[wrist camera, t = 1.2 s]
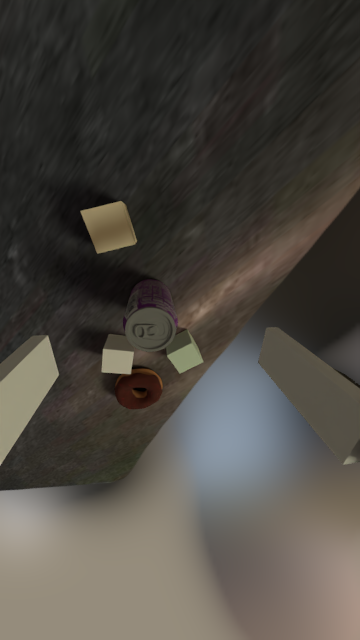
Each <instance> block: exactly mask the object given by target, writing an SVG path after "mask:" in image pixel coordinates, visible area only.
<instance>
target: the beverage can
mask: <svg viewBox="0 0 360 640" xmlns="http://www.w3.org/2000/svg"><path fill="white" fill-rule="evenodd" d="M177 326H178V320H177V315H176V311H175V308H174V304H173V301H172V297H171V293H170V291H169V289H168V288H167V286H166V285H165V284H163V283H162V282H160V281H158V280H153V279H147V280H143V281H141V282H139V283H138V284H136V285H135V286H134V288H133V289H132V291H131V294H130V298H129V301H128V304H127V308H126V311H125V314H124V318H123V327H124V331H125V334H126V337H127V339H128V341H129V342H130V344H131V345H132V346H134V347H135V348H137V349H139V350H142V351H146V352H154V351H159V350H162V349H164V348H165V347H167V346H168V345H169V344H170V343H171V342H172V341H173V339H174V337H175V333H176V330H177Z"/></svg>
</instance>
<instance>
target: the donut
mask: <svg viewBox="0 0 360 640" xmlns="http://www.w3.org/2000/svg"><path fill="white" fill-rule="evenodd" d="M139 387H140V388H141V387H142V388H146V389H147V390H146V391H144V392H141V391H137V390H134V389H133V388H139ZM161 394H162V380H161V378H160V377H159V376H158V375H157V374H156V373H155V372H154V371H152V370H149V369H131V374H122V375H121V376H119V378H118V379H117V381H116V385H115V396H116V398H117V400H118V402H119V403H120V404H121V405H122V406H123V407H126V408H129V409H142V408H146V407H148V406H150V405H152V404H153V403H155V402H157V401H158V400H159V398H160V396H161Z"/></svg>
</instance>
